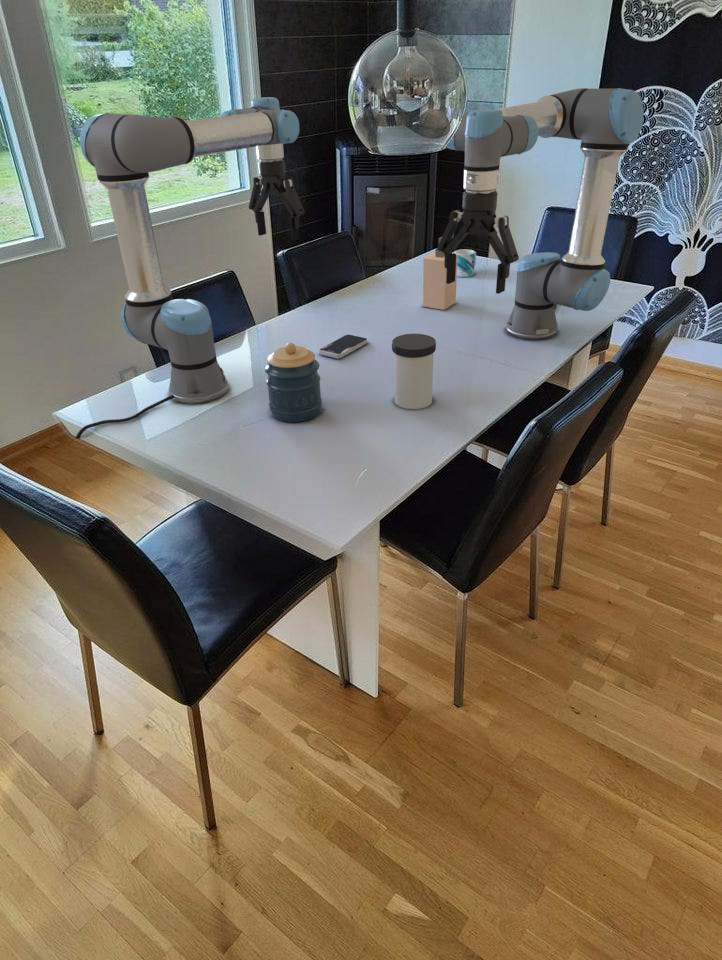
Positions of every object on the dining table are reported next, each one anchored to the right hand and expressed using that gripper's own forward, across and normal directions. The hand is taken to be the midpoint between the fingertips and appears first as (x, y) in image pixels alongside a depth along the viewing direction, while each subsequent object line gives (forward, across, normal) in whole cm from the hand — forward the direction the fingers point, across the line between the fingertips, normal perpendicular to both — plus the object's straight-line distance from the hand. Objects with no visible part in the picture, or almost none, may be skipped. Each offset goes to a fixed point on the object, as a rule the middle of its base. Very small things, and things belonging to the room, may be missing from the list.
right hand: (474, 287), depth 158 cm
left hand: (-1, -73, +6) cm, 73 cm away
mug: (+27, -58, +89) cm, 110 cm away
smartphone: (+27, -46, +2) cm, 53 cm away
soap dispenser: (+27, -45, +54) cm, 75 cm away
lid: (+11, -8, -13) cm, 19 cm away
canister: (+27, -28, -35) cm, 52 cm away
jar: (+27, -8, -13) cm, 31 cm away
